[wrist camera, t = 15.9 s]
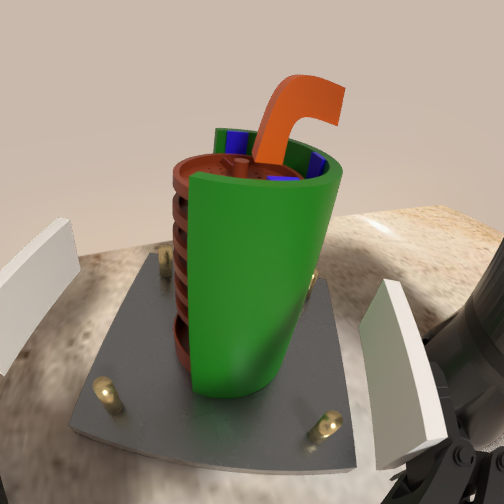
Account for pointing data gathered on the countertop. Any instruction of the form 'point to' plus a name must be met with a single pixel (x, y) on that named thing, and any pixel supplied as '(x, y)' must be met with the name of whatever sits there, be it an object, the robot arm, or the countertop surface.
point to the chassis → (217, 409)
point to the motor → (251, 240)
